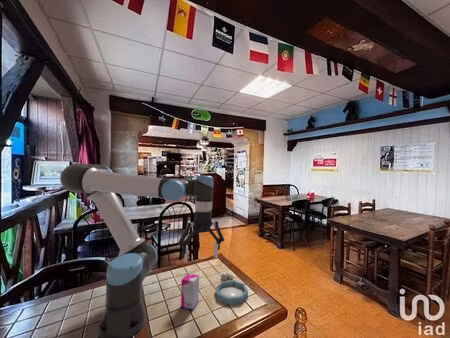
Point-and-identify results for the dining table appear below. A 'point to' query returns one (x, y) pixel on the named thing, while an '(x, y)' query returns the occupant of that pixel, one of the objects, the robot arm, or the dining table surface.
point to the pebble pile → (226, 276)
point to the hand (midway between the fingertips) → (201, 259)
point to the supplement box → (190, 291)
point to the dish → (231, 292)
